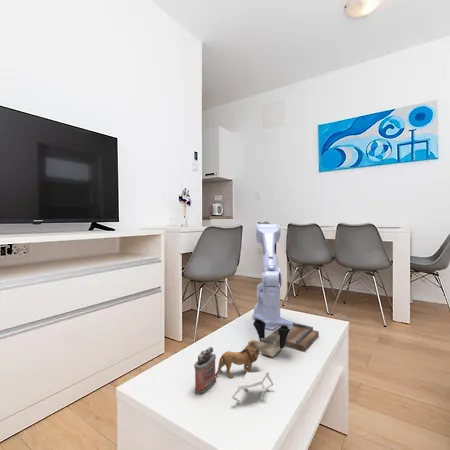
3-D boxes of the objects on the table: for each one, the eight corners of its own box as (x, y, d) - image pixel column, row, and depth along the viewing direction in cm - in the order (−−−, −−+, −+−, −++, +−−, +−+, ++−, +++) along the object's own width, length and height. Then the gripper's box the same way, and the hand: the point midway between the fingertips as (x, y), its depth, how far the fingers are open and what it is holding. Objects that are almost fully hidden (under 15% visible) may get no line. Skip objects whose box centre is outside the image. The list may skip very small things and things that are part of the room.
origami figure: (249, 380, 79) (249, 363, 78) (275, 391, 73) (275, 373, 73) (223, 402, 69) (222, 383, 69) (250, 417, 64) (250, 396, 64)
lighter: (201, 396, 72) (201, 359, 71) (191, 392, 73) (191, 355, 73) (218, 380, 78) (218, 346, 78) (209, 377, 80) (208, 343, 80)
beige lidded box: (260, 354, 93) (260, 338, 93) (271, 345, 99) (271, 330, 99) (272, 358, 90) (272, 342, 90) (283, 349, 96) (282, 333, 96)
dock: (268, 341, 103) (268, 332, 103) (285, 328, 115) (285, 320, 115) (304, 351, 94) (304, 342, 94) (318, 336, 106) (318, 328, 106)
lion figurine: (256, 363, 87) (255, 336, 87) (264, 372, 82) (263, 343, 82) (212, 373, 82) (211, 343, 82) (217, 383, 77) (217, 352, 77)
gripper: (247, 304, 95) (248, 343, 96) (286, 312, 87) (286, 355, 87) (257, 299, 101) (258, 336, 101) (295, 306, 92) (295, 346, 93)
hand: (272, 344), depth 94 cm, fingers open, 7 cm apart
